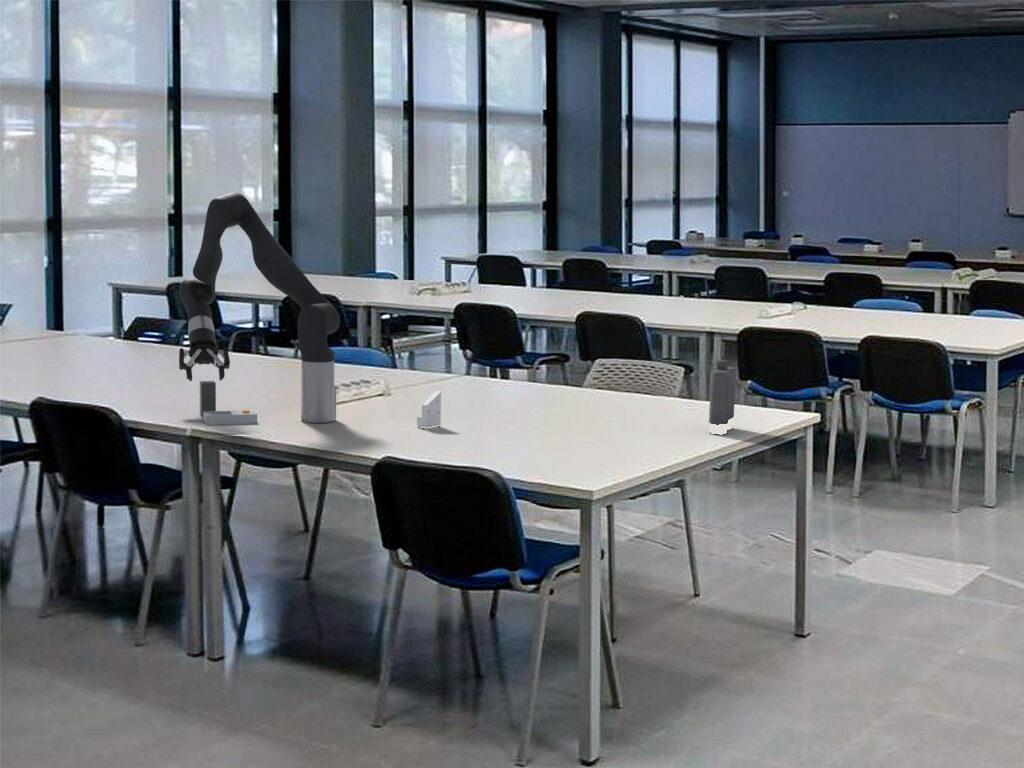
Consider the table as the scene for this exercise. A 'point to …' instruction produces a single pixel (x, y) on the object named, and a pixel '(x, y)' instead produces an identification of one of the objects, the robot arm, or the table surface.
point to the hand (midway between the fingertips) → (206, 379)
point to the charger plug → (207, 396)
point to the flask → (722, 393)
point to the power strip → (229, 417)
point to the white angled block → (431, 411)
